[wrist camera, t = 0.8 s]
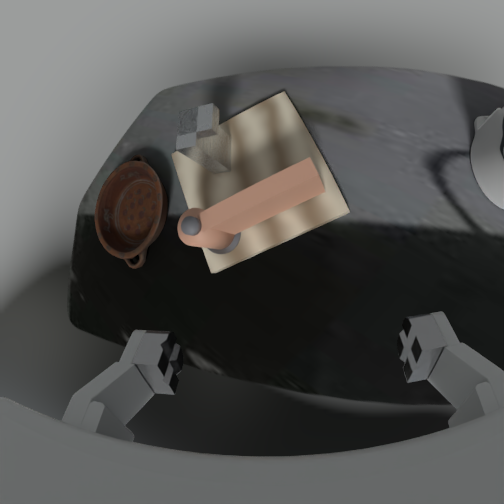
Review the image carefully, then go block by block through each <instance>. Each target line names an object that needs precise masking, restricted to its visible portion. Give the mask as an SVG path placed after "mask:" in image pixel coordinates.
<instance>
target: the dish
mask: <svg viewBox="0 0 504 504" xmlns="http://www.w3.org/2000/svg"><path fill="white" fill-rule="evenodd" d="M140 160H141V161H140ZM167 209H168V200H167V194H166V191H165V188H164V186H163V184H162V182H161V181H160V179H159V178H158V176H157V174H156V172H155V171H154V170H153V169H152V167H150V166H149V165H148V162H147V159H146V158H145V157H144V156H142V155H136V156H134V157H133V158H132V159H131V160H130V161H128V162H125V163H124V164H122V165H120V166H119V167H118V168H116V169H115V170H114V171H113V172H112V173H111V174H110V176H109V177H108V178H107V180H106V181H105V183H104V184H103V186H102V189H101V191H100V193H99V196H98V200H97V204H96V209H95V225H96V231H97V234H98V237H99V240H100V242H101V243H102V245H103V246H104V248H105V249H106V250H107V251H108V252H109V253H111V254H112V255H114V256H116V257H118V258H122V259H125V261H126V263H127V264H128V265H129V266H130V267H131V268H134V269H135V268H139V267H141V266H142V265H143V264H144V263H145V260H146V255H147V249H148V247H149V246H150V244H152V243H153V242H154V241H155V240H156V239H157V237H158V236H159V234H160V233H161V231H162V229H163V227H164V224H165V221H166V217H167ZM137 255H139V261H138V262H137V263H134V262H133V260H132V258H133V257H135V256H137Z"/></svg>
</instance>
